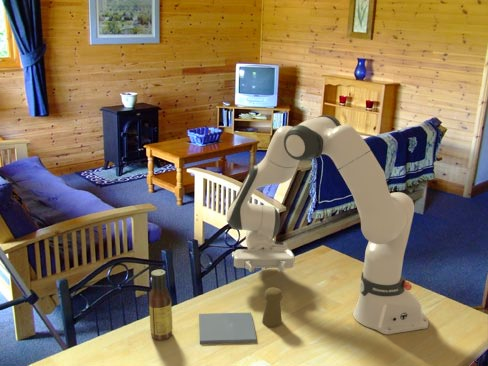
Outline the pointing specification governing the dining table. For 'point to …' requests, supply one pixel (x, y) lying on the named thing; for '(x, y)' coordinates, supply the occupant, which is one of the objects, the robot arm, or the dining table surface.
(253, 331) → the tile
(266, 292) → the cork
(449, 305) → the dining table surface
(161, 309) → the sauce bottle
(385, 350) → the dining table surface
